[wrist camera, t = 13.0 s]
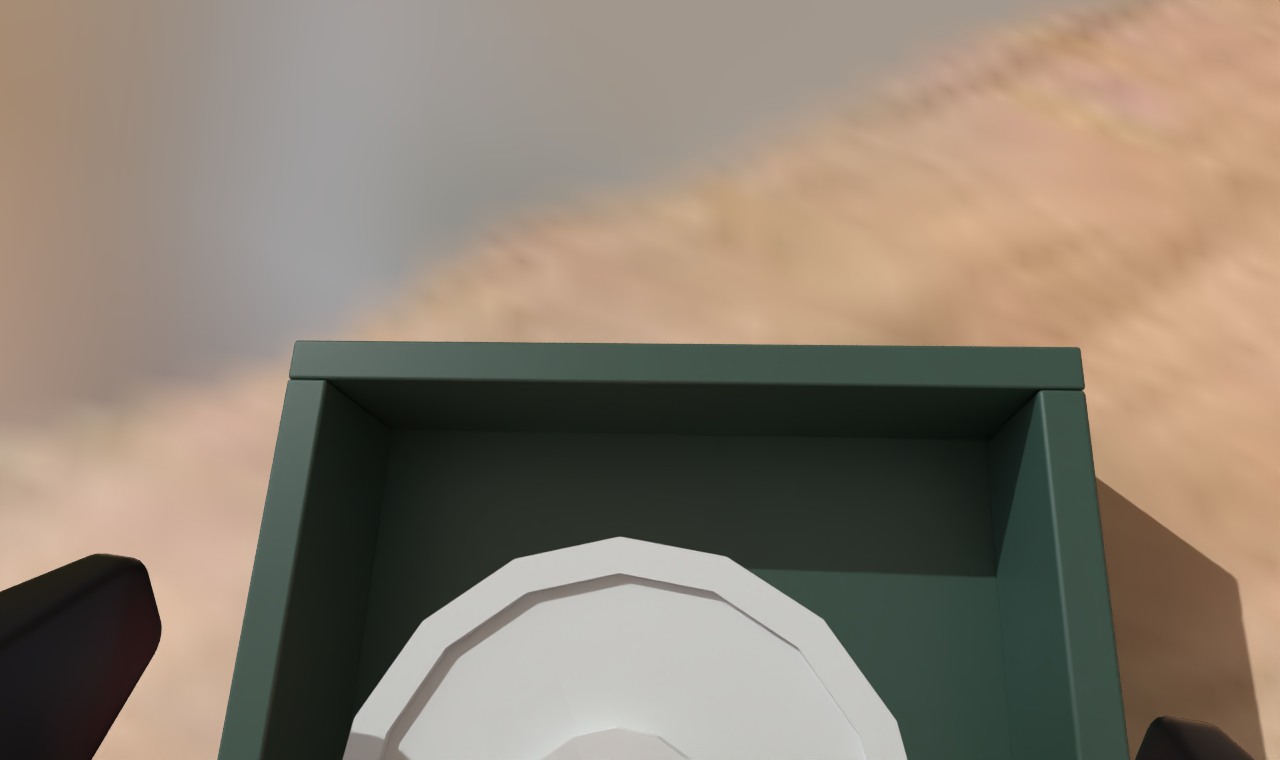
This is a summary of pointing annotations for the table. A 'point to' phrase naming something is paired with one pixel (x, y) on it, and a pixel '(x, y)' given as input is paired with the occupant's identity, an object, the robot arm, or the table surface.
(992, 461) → the green square tray
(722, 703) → the beverage cup
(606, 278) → the table surface
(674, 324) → the table surface
